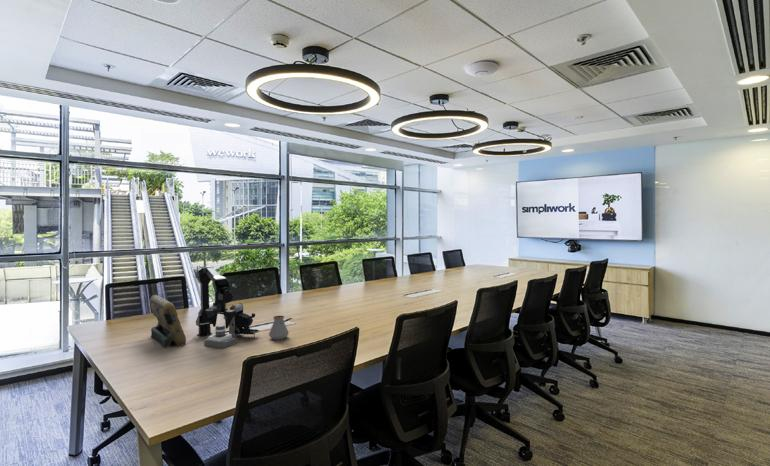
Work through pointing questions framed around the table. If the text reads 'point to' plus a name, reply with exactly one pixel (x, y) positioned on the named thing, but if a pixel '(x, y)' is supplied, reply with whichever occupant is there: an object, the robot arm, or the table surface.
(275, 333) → the coffee pot
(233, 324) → the vintage camera
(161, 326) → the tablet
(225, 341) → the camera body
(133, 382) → the table surface
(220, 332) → the lens
